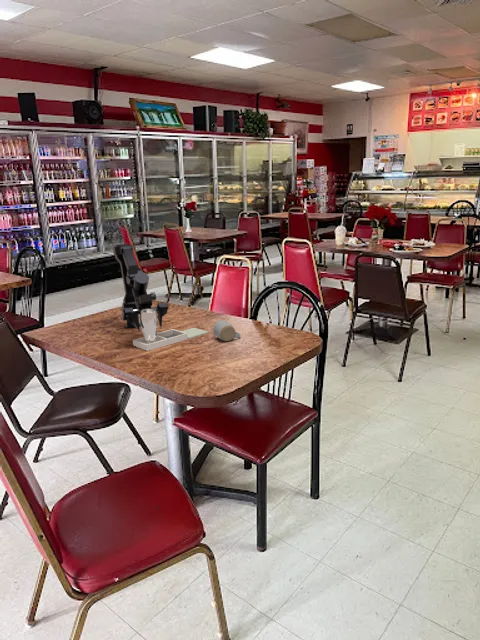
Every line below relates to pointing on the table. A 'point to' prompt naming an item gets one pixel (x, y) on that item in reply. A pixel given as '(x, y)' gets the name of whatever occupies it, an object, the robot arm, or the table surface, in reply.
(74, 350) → the table surface
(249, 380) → the table surface
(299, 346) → the table surface
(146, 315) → the shiny metal tumbler
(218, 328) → the ceramic mug
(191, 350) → the table surface
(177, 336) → the white divided tray
